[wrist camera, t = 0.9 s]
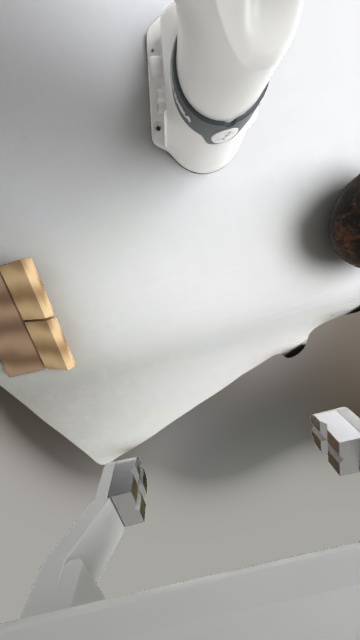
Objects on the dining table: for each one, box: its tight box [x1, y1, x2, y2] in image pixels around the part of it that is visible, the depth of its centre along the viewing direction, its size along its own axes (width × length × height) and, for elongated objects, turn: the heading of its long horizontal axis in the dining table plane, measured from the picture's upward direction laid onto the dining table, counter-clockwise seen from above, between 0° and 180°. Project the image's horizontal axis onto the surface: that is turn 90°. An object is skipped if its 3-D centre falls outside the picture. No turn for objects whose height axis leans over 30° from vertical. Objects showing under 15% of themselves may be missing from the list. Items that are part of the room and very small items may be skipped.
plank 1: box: [0, 258, 55, 320], centre depth 43 cm, size 11×8×2 cm
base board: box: [0, 272, 45, 378], centre depth 47 cm, size 23×8×2 cm, turn 13°
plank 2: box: [24, 317, 76, 370], centre depth 47 cm, size 11×8×2 cm
